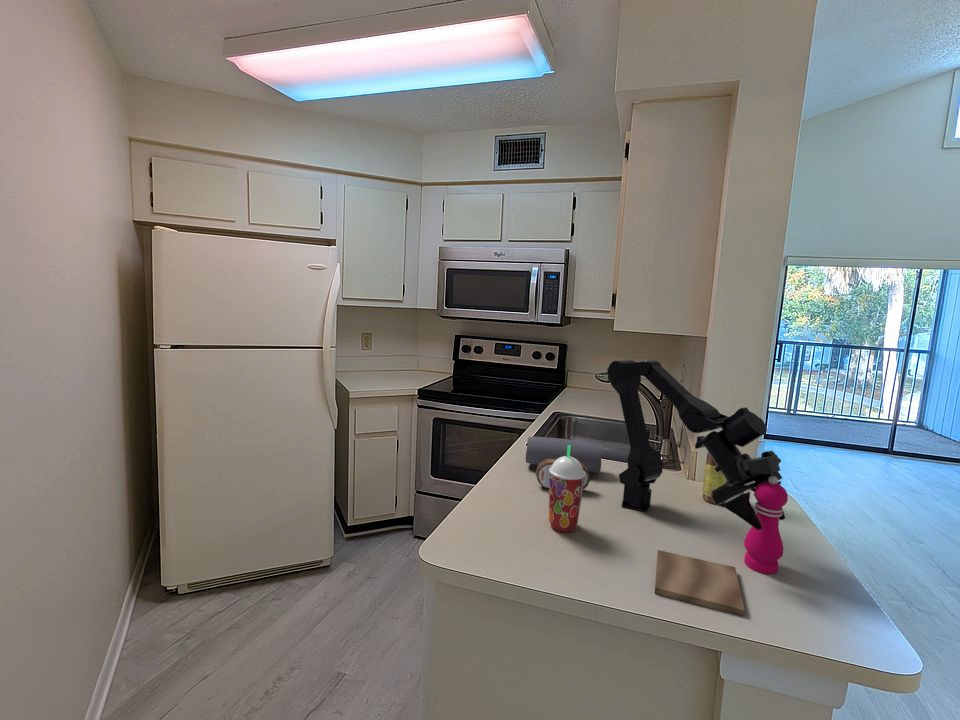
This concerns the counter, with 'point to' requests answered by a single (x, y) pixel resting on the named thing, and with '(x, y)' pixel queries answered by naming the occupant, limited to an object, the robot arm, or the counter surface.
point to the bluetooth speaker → (563, 451)
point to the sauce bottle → (712, 478)
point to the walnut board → (698, 582)
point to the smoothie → (565, 492)
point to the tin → (543, 473)
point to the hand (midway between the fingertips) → (772, 524)
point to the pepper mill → (766, 528)
